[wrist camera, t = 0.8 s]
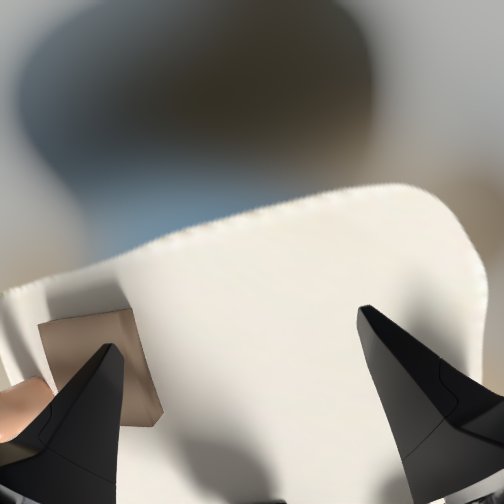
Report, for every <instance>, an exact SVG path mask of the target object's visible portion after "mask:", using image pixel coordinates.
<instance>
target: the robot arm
mask: <svg viewBox="0 0 504 504" xmlns="http://www.w3.org/2000/svg"><path fill="white" fill-rule="evenodd" d="M357 330H358V333H359V337H360V341H361V344H362V348H363V351H364V355H365V359H366V362H367V366H368V369H369V371H370V374H371V376H372V379H373V381H374V384H375V387H376V389H377V392H378V395H379V397H380V400H381V403H382V405H383V408H384V411H385V413H386V416H387V419H388V422H389V425H390V427H391V430H392V433H393V436H394V439H395V442H396V445H397V448H398V451H399V454H400V457H401V460H402V464H403V467H404V470H405V474H406V477H407V480H408V484H409V487H410V490H411V494H412V498H413V501H414V504H427V503H430V502H433V501H436V500H438V499H441V498H444V500H445V503H444V504H504V397H503V396H500V395H498V394H495V393H494V392H492V391H490V390H488V389H487V388H485V387H484V386H482V385H480V384H479V383H477V382H476V381H474V380H472V379H471V378H469V377H467V376H466V375H464V374H463V373H461V372H460V371H458V370H457V369H456V368H454V367H453V366H451V365H450V364H449V363H447V362H446V361H445V360H444V359H442V358H440V357H439V356H438V355H437V354H436V353H434V352H433V351H432V350H430V349H429V348H428V347H426V346H425V345H424V344H422V343H421V342H420V341H418V340H417V339H416V338H415V337H413V336H412V335H411V334H409V333H408V332H407V331H405V330H404V329H403V328H401V327H400V326H398V325H397V324H396V323H394V322H393V321H392V320H390V319H389V318H388V317H386V316H385V315H384V314H382V313H381V312H380V311H378V310H377V309H375V308H374V307H373V306H371V305H365V306H360V307H359V308H358V314H357ZM124 366H125V359H124V356H123V354H122V353H121V352H120V350H119V349H118V347H117V346H116V345H115V344H114V343H104V344H103V345H102V346H101V347H100V348H99V349H98V350H97V351H96V352H95V353H94V354H93V356H92V357H91V358H90V359H89V360H88V361H87V362H86V363H85V364H84V365H83V366H82V367H81V368H80V369H79V371H78V372H77V373H76V374H75V375H74V376H73V377H72V378H71V379H70V380H69V381H68V383H67V384H66V385H65V386H64V387H63V388H62V389H61V390H60V391H59V393H58V394H57V395H56V396H55V397H54V398H53V399H52V401H51V402H50V403H49V404H48V405H47V406H46V407H45V408H44V409H43V411H42V412H41V413H40V414H39V415H38V416H37V417H36V418H35V419H34V420H33V421H32V422H31V423H30V424H29V425H28V426H27V427H26V428H25V429H24V430H23V431H22V432H21V433H20V434H19V435H18V436H17V437H16V438H14V439H13V440H11V441H8V442H3V443H0V504H116V472H117V454H118V440H119V429H120V419H121V410H122V402H123V390H124ZM279 504H286V503H279Z"/></svg>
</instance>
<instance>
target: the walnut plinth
mask: <svg viewBox="0 0 504 504" xmlns="http://www.w3.org/2000/svg"><path fill="white" fill-rule="evenodd" d="M38 329H39V333H40V337H41V341H42V344H43V348H44V351H45V355H46V358H47V361H48V364H49V367H50V370H51V373H52V376H53V379H54V382H55V384H56V387H57V390H58V392H59V391H60V390H61V389H62V388H63V387H64V386H65V385H66V384H67V383H68V381H69V380H70V379H71V378H72V377H73V376H74V375H75V374H76V373H77V372H78V371H79V369H80V368H81V367H82V366H83V365H84V364H85V363H86V362H87V361H88V360H89V359H90V358H91V357H92V356H93V354H94V353H95V352H96V351H97V350H98V349H99V348H100V347H101V346H102V345H103V344H104V343H114V344H115V345H116V346H117V347H118V349H119V350H120V352H121V353H122V354H123V356H124V359H125V366H124V390H123V402H122V410H121V419H120V426H135V427H153V426H154V424H155V423H156V422H157V421H158V419H159V418H160V417H161V415H162V414H163V410H162V407H161V404H160V402H159V399H158V396H157V393H156V390H155V388H154V385H153V382H152V379H151V376H150V372H149V369H148V366H147V363H146V360H145V356H144V353H143V349H142V346H141V342H140V339H139V335H138V331H137V328H136V324H135V320H134V316H133V312H132V308H129V309H123V310H117V311H111V312H105V313H98V314H92V315H86V316H79V317H73V318H66V319H59V320H53V321H50V322H46V323H42V324H38Z"/></svg>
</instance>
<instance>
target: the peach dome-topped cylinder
mask: <svg viewBox="0 0 504 504" xmlns="http://www.w3.org/2000/svg"><path fill="white" fill-rule="evenodd" d="M53 398H54V395H53V392H52V391H51V389H50V387H49V386H48V385H47V383H46V382H45V381H44V380H42V379H41V378H39V377H37V376H34V377H31V378H29V379H27V380H25V381H23V382H21V383H18V384H16V385H14V386H12V387H9V388H8V389H5V390H3V391H1V392H0V443H3V442H6V441H8V440H9V439H11V438H13V437H14V436H16V435H17V434H19V433H20V432H22V431H23V430H24V429H25V428H26V427H27V426H28V425H29V424H30V423H31V422H32V421H33V420H34V419H35V418H36V417H37V416H38V415H39V414H40V413H41V412H42V411H43V409H44V408H45V407H46V406H47V405H48V404H49V403H50V402H51V401H52V399H53Z"/></svg>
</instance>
